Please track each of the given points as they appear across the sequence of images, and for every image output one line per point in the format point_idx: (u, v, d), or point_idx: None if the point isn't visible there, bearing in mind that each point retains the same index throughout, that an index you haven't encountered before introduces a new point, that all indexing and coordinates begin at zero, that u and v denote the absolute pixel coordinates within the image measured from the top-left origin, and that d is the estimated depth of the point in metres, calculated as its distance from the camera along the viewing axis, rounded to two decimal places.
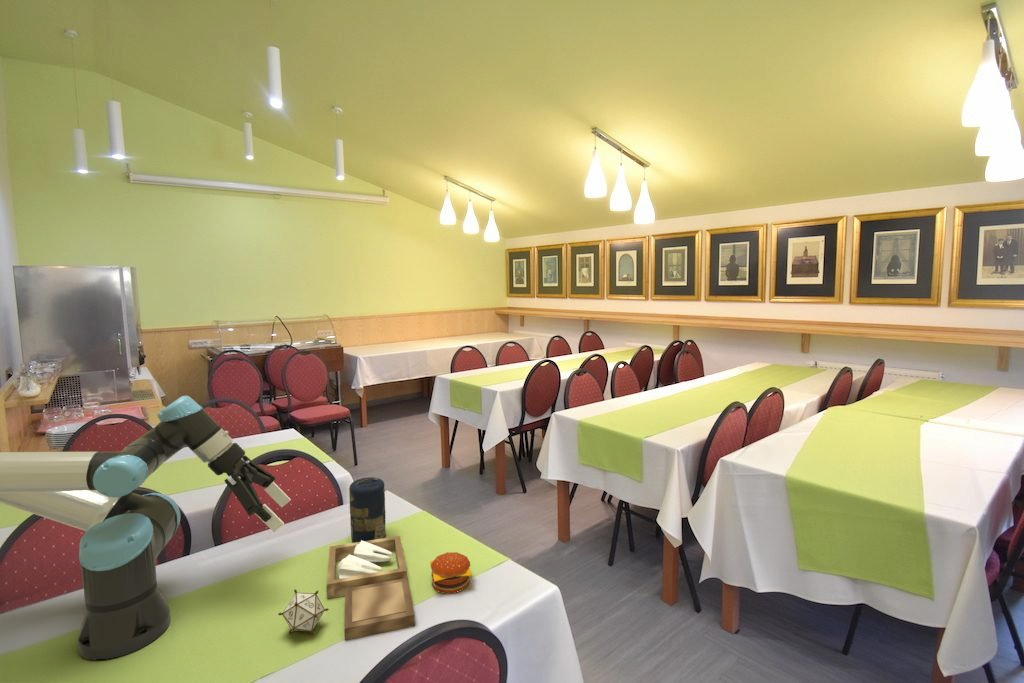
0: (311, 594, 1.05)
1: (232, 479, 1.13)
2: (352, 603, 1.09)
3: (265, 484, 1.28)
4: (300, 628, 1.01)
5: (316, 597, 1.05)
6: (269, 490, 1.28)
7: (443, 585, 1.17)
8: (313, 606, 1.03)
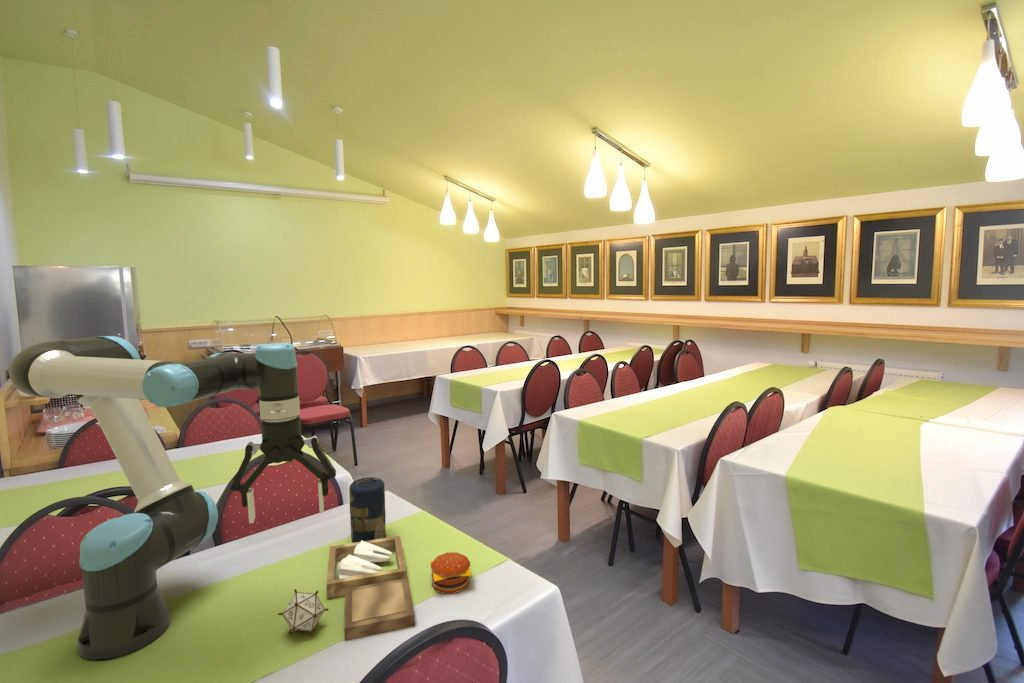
0: (311, 594, 1.05)
1: None
2: (352, 603, 1.09)
3: None
4: (300, 628, 1.02)
5: (316, 597, 1.05)
6: None
7: (443, 585, 1.17)
8: (313, 606, 1.03)
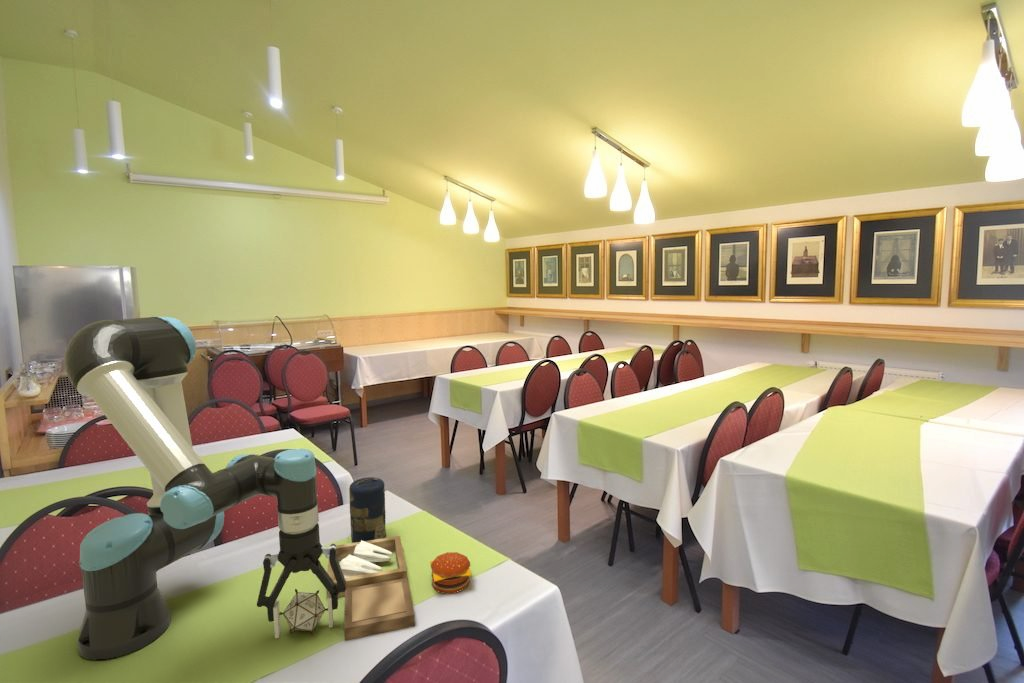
0: (312, 594, 1.05)
1: None
2: (352, 603, 1.09)
3: None
4: (301, 628, 1.02)
5: (317, 597, 1.05)
6: None
7: (443, 585, 1.17)
8: (313, 606, 1.03)
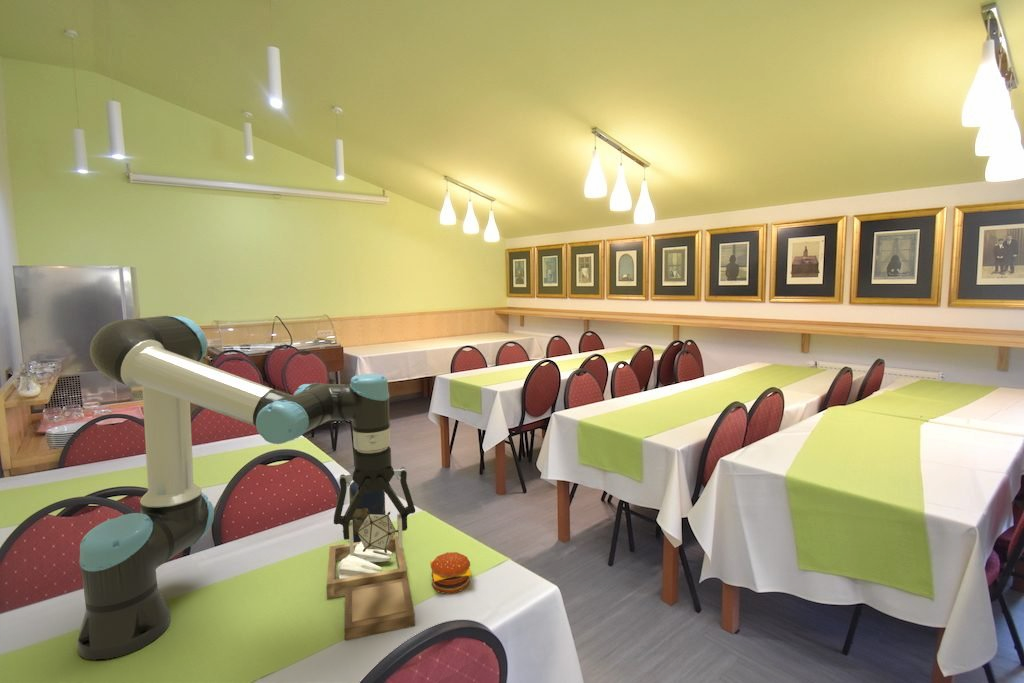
0: (383, 515, 1.09)
1: None
2: (352, 603, 1.09)
3: None
4: (375, 545, 1.05)
5: (388, 518, 1.09)
6: (397, 520, 1.10)
7: (443, 585, 1.17)
8: (386, 525, 1.07)
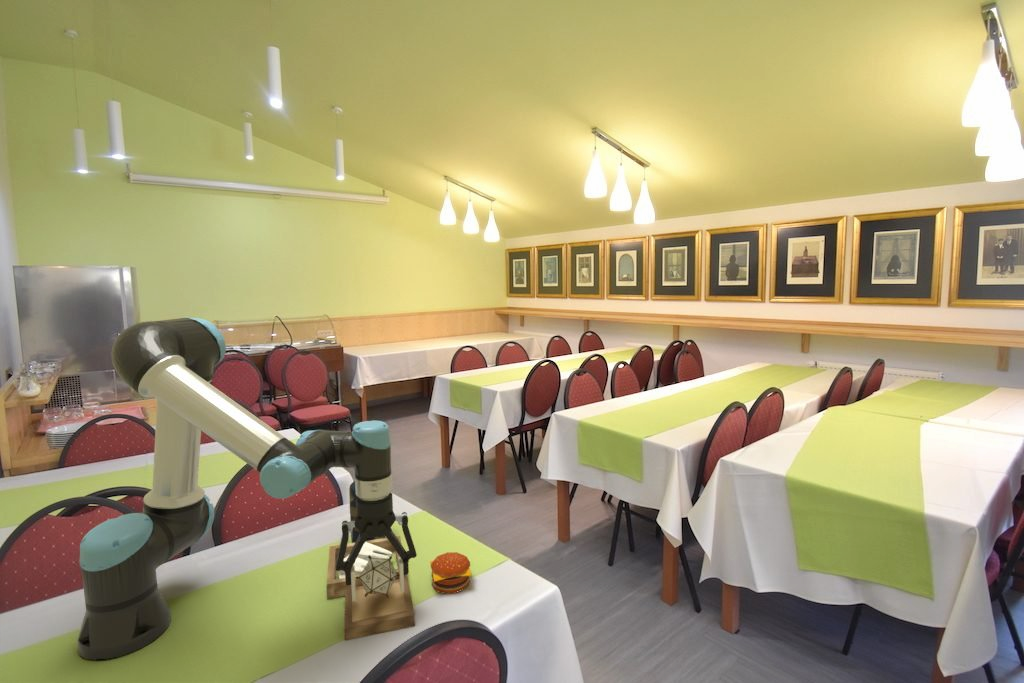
0: (385, 559, 1.10)
1: (342, 528, 1.06)
2: (352, 603, 1.09)
3: None
4: (377, 591, 1.06)
5: (390, 562, 1.10)
6: None
7: (443, 585, 1.17)
8: (388, 571, 1.08)
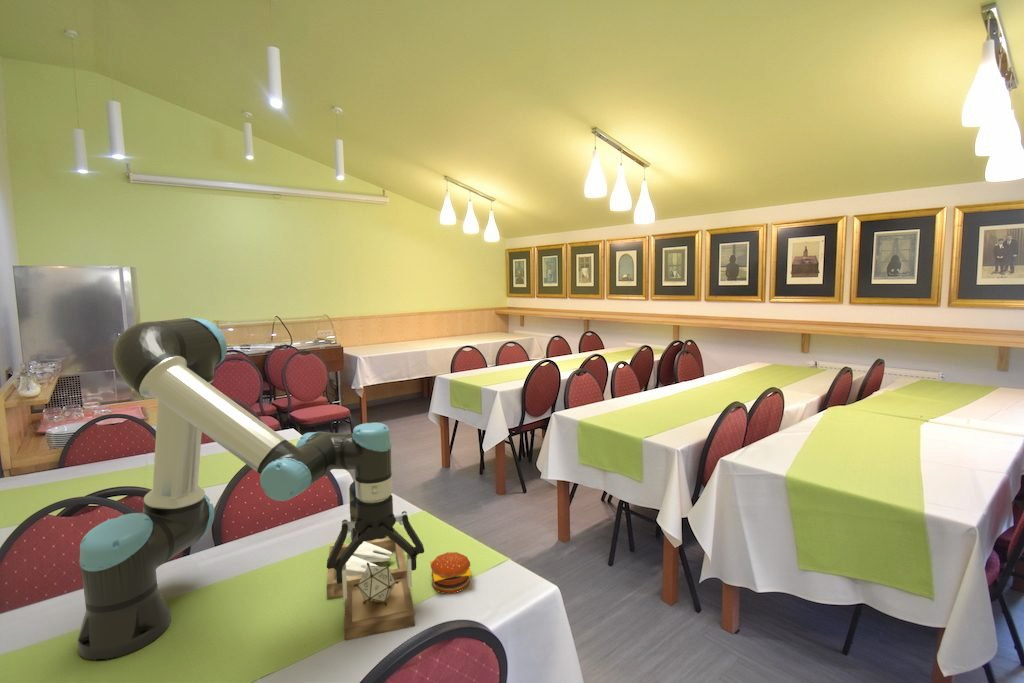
0: (383, 567, 1.10)
1: None
2: (352, 603, 1.09)
3: None
4: (375, 598, 1.07)
5: (388, 570, 1.10)
6: None
7: (443, 585, 1.17)
8: (386, 578, 1.08)
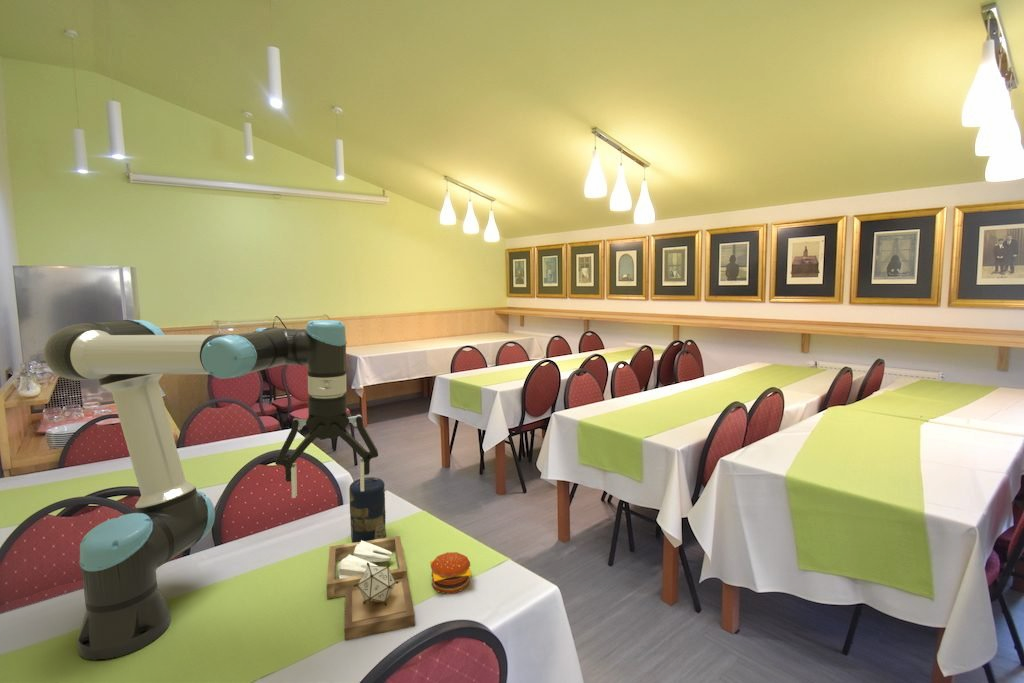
0: (383, 567, 1.10)
1: (292, 423, 1.03)
2: (352, 603, 1.09)
3: None
4: (375, 598, 1.07)
5: (388, 570, 1.10)
6: None
7: (443, 585, 1.17)
8: (386, 578, 1.08)
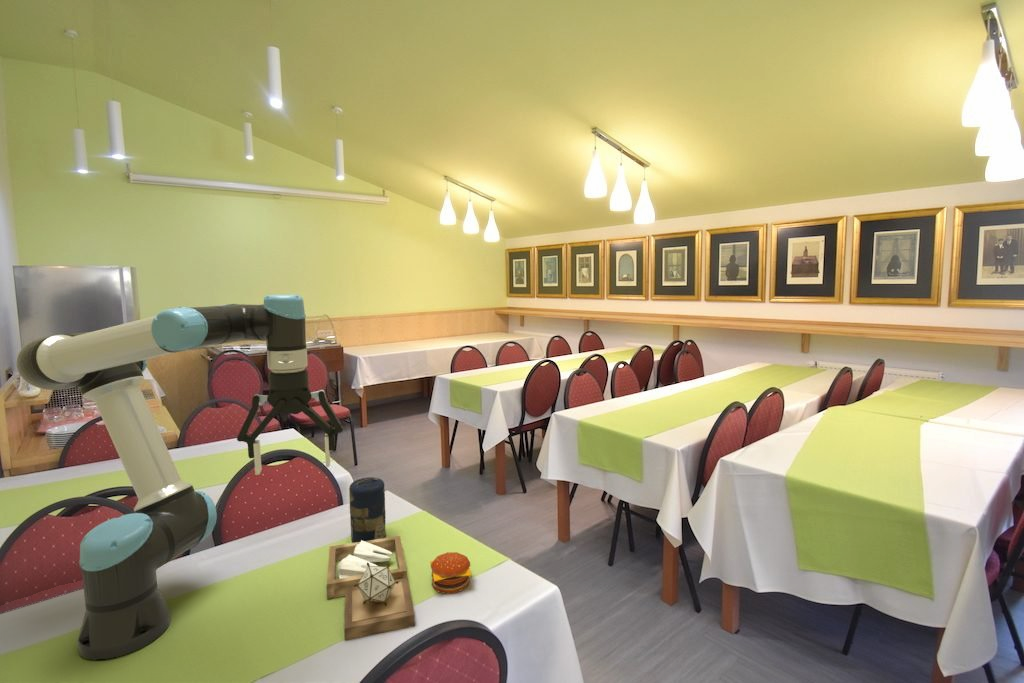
0: (383, 567, 1.10)
1: None
2: (352, 603, 1.09)
3: None
4: (375, 598, 1.07)
5: (388, 570, 1.10)
6: None
7: (443, 585, 1.17)
8: (386, 578, 1.08)
